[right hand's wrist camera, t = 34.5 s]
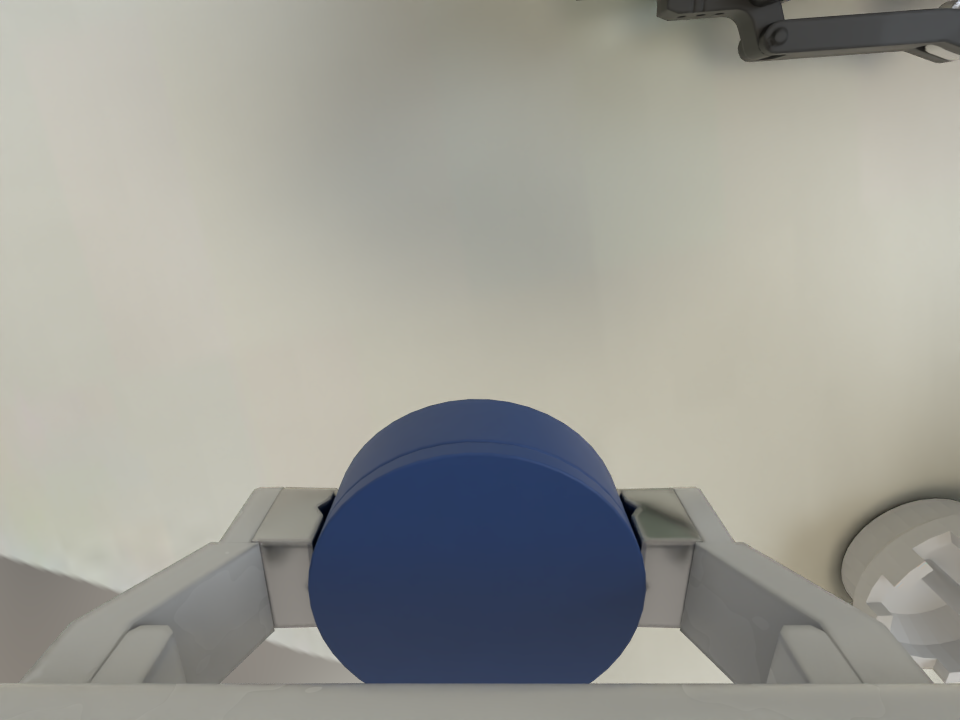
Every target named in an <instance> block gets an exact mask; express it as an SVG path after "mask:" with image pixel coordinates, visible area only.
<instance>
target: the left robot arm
mask: <svg viewBox="0 0 960 720" xmlns="http://www.w3.org/2000/svg"><path fill="white" fill-rule="evenodd" d="M786 1H789V0H657V17H659V18H662V19H664V20H667V21H673V20H686V19H698V18H711V17H728V18H731V19H732V20H733V21H734V22H735V23H736V25H737V27H738V31H739V35H740V39H741V40H740V42H739V46H738V54H739V56H740V57H741V59H743V60H744V61H747V62H756V61H770V60H783V59H797V58H811V57H825V56H839V55H853V54H866V53H880V52H894V51H905V52H908V53H910V54H913V55H916V56H919V57H921V58H924V59H927V60H930V61H932V62H935V63H944V62H949V61H954V60H960V0H952V1H949V2H946V3H944V4H943V5H941V6H940V7H939V8H937V9H923V10H910V11H896V12H883V13H869V14H855V15H842V16H828V17H815V18H801V19H787V20H784V15H783V10H782V5H781V3H784V2H786Z"/></svg>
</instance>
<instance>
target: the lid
mask: <svg viewBox="0 0 960 720" xmlns="http://www.w3.org/2000/svg"><path fill="white" fill-rule="evenodd" d="M308 592H309V599H310V607H311V610H312V613H313V617H314V620H315V623H316V625H317V627H318V629H319V632H320V634H321V636H322V638H323V640H324V641H325V643H326V644H327V646H328V647H329V648H330V650H331V651H332V653H333V654H334V655H335V656H336V658H337V659H338V660H339V661H340V662H341V663H342V664H343V665H344V666H345V667H346V668H347V669H348V670H349V671H350V672H351V673H353V674H354V675H355V676H356V677H357V678H358V679H360V680H361V681H363V682H364V683H488V684H589V683H591V682H592V681H594V680H595V679H596V678H597V677H599V676H600V675H601V674H602V673H603V672H605V671H606V670H607V669H608V668H609V667H610V666H611V665H612V664H613V663H614V662H615V660H616V659H617V658H618V657H619V656H620V655H621V653H622V652H623V651H624V649H625V648H626V646H627V645H628V644H629V642H630V640H631V638H632V636H633V635H634V633H635V631H636V629H637V627H638V624H639V621H640V618H641V615H642V612H643V608H644V601H645V595H646V572H645V567H644V562H643V556H642V554H641V551H640V548H639V545H638V543H637V540H636V537H635V535H634V532H633V530H632V527H631V525H630V522H629V520H628V517H627V515H626V512H625V510H624V507H623V505H622V502H621V500H620V497H619V495H618V492H617V490H616V487H615V485H614V482H613V480H612V477H611V475H610V473H609V471H608V469H607V468H606V466H605V464H604V462H603V460H602V459H601V458H600V457H599V455H598V454H597V453H596V451H595V450H594V449H593V448H592V446H591V445H589V444H588V443H587V442H586V441H585V440H584V439H583V438H582V437H581V436H580V435H579V434H578V433H576V432H575V431H574V430H572V429H571V428H570V427H568V426H567V425H565V424H564V423H562V422H560V421H559V420H557V419H555V418H553V417H551V416H549V415H548V414H545V413H543V412H540V411H537V410H535V409H532V408H530V407H527V406H523V405H519V404H515V403H511V402H505V401H497V400H490V399H467V400H457V401H449V402H444V403H440V404H436V405H432V406H428V407H425V408H423V409H420V410H417V411H414V412H412V413H409V414H408V415H406V416H404V417H402V418H400V419H398V420H396V421H394V422H392V423H391V424H390V425H388V426H387V427H385V428H384V429H382V430H381V431H380V432H378V433H377V434H376V435H375V436H374V437H373V438H372V439H371V440H369V441H368V442H367V443H366V444H365V445H364V446H363V448H362V449H361V450H360V451H359V453H358V454H357V455H356V456H355V458H354V459H353V461H352V462H351V464H350V466H349V468H348V469H347V471H346V473H345V475H344V478H343V480H342V482H341V485H340V487H339V490H338V492H337V494H336V497H335V499H334V502H333V504H332V506H331V509H330V511H329V514H328V516H327V518H326V521H325V523H324V526H323V528H322V530H321V533H320V535H319V538H318V540H317V543H316V545H315V548H314V551H313V553H312V558H311V562H310V567H309V576H308Z"/></svg>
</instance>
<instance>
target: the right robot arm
mask: <svg viewBox="0 0 960 720" xmlns="http://www.w3.org/2000/svg"><path fill="white" fill-rule="evenodd" d="M616 490H617V492H618V495H619V497H620V500H621V502H622V505H623V507H624V510H625V512H626V515H627V517H628V520H629V522H630V525H631V527H632V530H633V532H634V535H635V537H636V540H637V543H638V545H639V548H640V551H641V554H642V556H643V562H644V567H645V572H646V595H645V601H644V608H643V612H642V615H641V618H640V621H639V624H638V627H662V628H680V631H681V632H682V633H683V634H684V635H685V636H686V637H687V638H688V639H689V640H690V641H691V642H692V643H694V644H695V645H696V646H697V647H698V648H699V649H700V650H701V651H702V652H703V653H704V654H705V655H706V656H707V657H708V658H709V659H710V660H711V661H712V662H713V663H714V664H715V665H716V666H717V667H718V668H719V669H720V670H721V671H722V672H723V673H724V674H725V675H726V676H727V677H728V678H729V679H730V680H731V681H732V682H733V683H734V684H488V683H305V684H303V683H298V684H297V683H292V684H290V683H289V684H287V683H285V684H283V683H282V684H281V683H280V684H279V683H277V684H220V683H221V682H222V681H223V680H224V679H225V678H226V677H227V676H228V675H229V674H230V673H231V672H232V671H233V670H234V669H235V668H236V667H237V666H238V665H239V664H240V663H241V662H242V661H243V660H245V659H246V658H247V657H248V656H249V655H250V654H251V653H252V652H253V651H254V650H255V649H256V648H257V647H258V646H259V645H260V644H261V643H262V642H263V641H264V640H265V639H266V638H267V637H268V636H269V635H271V634H272V633H273V632H274V628H292V627H317V625H316V623H315V620H314V617H313V613H312V610H311V607H310V599H309V592H308V576H309V567H310V562H311V558H312V553H313V551H314V548H315V545H316V543H317V540H318V538H319V535H320V533H321V530H322V528H323V526H324V523H325V521H326V518H327V516H328V514H329V511H330V509H331V506H332V504H333V502H334V499H335V497H336V494H337V492H338V489H337V488H300V487H286V488H284V487H259V488H257V489H255V490H254V491H253V492H252V493H251V495H250V496H249V498H248V499H247V501H246V502H245V504H244V505H243V507H242V508H241V510H240V511H239V513H238V514H237V516H236V517H235V519H234V520H233V522H232V523H231V525H230V526H229V528H228V529H227V531H226V532H225V534H224V535H223V537H222V538H221V540H220V541H219V542H214V543H209V544H207V545H205V546H204V547H202V548H200V549H198V550H197V551H195V552H193V553H191V554H190V555H188V556H186V557H184V558H183V559H181V560H179V561H177V562H176V563H174V564H172V565H170V566H169V567H167V568H165V569H163V570H162V571H160V572H158V573H156V574H155V575H153V576H151V577H149V578H148V579H146V580H144V581H142V582H141V583H139V584H137V585H135V586H134V587H132V588H130V589H128V590H127V591H125V592H123V593H121V594H120V595H118V596H116V597H114V598H113V599H111V600H109V601H107V602H106V603H104V604H102V605H100V606H99V607H97V608H95V609H93V610H92V611H90V612H88V613H87V614H85V615H83V616H81V617H79V618H78V619H76V620H74V621H72V622H71V623H70V624H69V625H68V626H67V627H66V628H65V629H64V631H63V632H62V633H61V634H60V635H59V636H58V638H57V639H56V640H55V641H54V642H53V643H52V644H51V646H50V647H49V648H48V649H47V650H46V651H45V653H44V654H43V655H42V656H41V657H40V658H39V659H38V661H37V662H36V663H35V664H34V665H33V666H32V668H31V669H30V670H29V671H28V672H27V673H26V675H25V676H24V677H23V678H22V679H21V680H20V681H19V683H0V720H960V683H933V681H932V680H931V679H930V678H929V677H928V676H927V674H926V673H925V672H924V671H923V670H922V668H921V667H920V666H919V665H918V664H917V663H916V661H915V660H914V659H913V658H912V657H911V655H910V654H909V653H908V652H907V651H906V650H905V648H904V647H903V646H902V645H901V644H900V642H899V641H898V640H897V639H896V638H895V637H894V635H893V634H892V633H891V632H890V631H889V629H888V628H887V627H886V626H885V625H884V624H883V623H882V622H880V621H878V620H876V619H875V618H873V617H871V616H870V615H868V614H866V613H864V612H863V611H861V610H859V609H857V608H856V607H854V606H852V605H851V604H849V603H847V602H845V601H844V600H842V599H840V598H838V597H837V596H835V595H833V594H832V593H830V592H828V591H826V590H825V589H823V588H821V587H819V586H818V585H816V584H814V583H813V582H811V581H809V580H807V579H806V578H804V577H802V576H801V575H799V574H797V573H795V572H794V571H792V570H790V569H788V568H787V567H785V566H783V565H782V564H780V563H778V562H776V561H775V560H773V559H771V558H769V557H768V556H766V555H764V554H763V553H761V552H759V551H757V550H756V549H754V548H752V547H750V546H749V545H747V544H745V543H740V542H735V541H734V540H733V538H732V537H731V535H730V534H729V532H728V531H727V529H726V528H725V526H724V524H723V523H722V521H721V520H720V518H719V517H718V515H717V514H716V512H715V511H714V509H713V508H712V506H711V505H710V503H709V502H708V500H707V499H706V497H705V496H704V494H703V493H702V491H701V490H700V489H699V488H697V487H673V488H646V489H616Z"/></svg>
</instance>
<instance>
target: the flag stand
mask: <svg viewBox="0 0 960 720" xmlns="http://www.w3.org/2000/svg"><path fill="white" fill-rule="evenodd" d="M841 574H842V582H843V585H844V587H845V590H846V591H847V593H848V594H849V595H850V596H851V598H852V599H853V606H854V607H856V608H857V609H859V610H861V611H863V612H864V613H866V614H868V615H870V616H871V617H873V618H875V619H876V620H878V621H880V622H882V623H883V624H884V625H885V626H886V627H887V628H888V629H889V631H890V632H891V633H892V634H893V635H894V637H895V638H896V639H897V640H898V641H899V642H900V644H901V645H902V646H903V647H904V648H905V650H906V651H907V652H908V653H909V654H910V655H911V657H912V658H913V659H914V660H915V661H916V663H917V664H918V665H919V666H920V667H921V668H922V669H933V670H934V671H935V672H936V674H937V675H938V676H939V677H940V678H941V679H942V680H943V682H944V683H957V682H960V502H958V501H955V500H951V499H938V498H934V499H924V500H918V501H914V502H910V503H906V504H903V505H901V506H898V507H896V508H893V509H891V510H889V511H887V512H885V513H884V514H882V515H880V516H878V517H877V518H875V519H874V520H873V521H872V522H870V523H869V524H868V525H867V526H865V527H864V528H863V529H862V530H861V531H860V532H859V534H858V535H857V536H856V537H855V538H854V540H853V541H852V543H851V544H850V546H849V547H848V549H847V551H846V554H845V556H844V558H843V563H842V569H841Z"/></svg>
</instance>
